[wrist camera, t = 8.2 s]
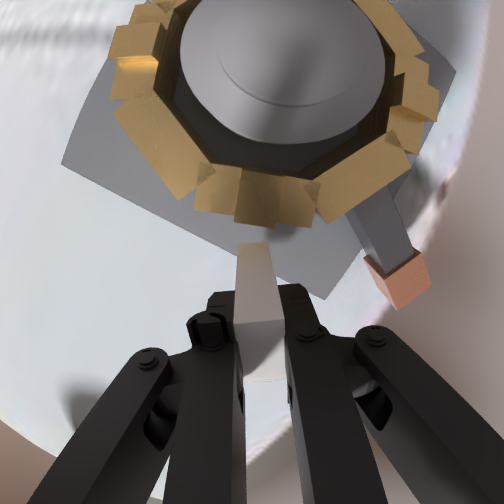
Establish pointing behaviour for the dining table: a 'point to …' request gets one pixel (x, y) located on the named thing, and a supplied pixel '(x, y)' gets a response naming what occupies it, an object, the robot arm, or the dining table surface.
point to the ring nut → (274, 180)
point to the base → (258, 118)
